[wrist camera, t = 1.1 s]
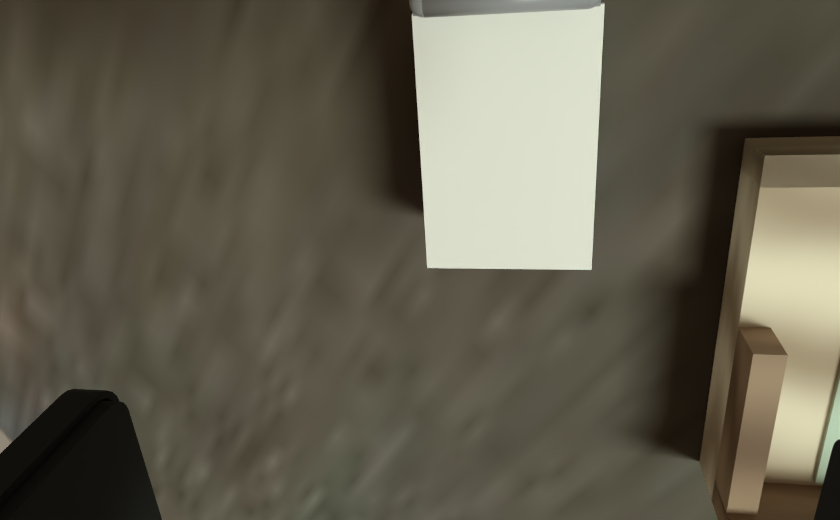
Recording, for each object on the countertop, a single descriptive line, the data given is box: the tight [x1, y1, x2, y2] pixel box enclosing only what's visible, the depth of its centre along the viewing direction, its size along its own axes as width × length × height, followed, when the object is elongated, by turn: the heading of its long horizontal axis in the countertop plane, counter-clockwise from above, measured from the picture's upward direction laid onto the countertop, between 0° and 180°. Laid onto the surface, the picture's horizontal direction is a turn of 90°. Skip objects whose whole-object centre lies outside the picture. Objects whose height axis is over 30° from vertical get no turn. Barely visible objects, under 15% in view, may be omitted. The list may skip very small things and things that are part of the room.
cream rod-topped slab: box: [409, 0, 604, 270], centre depth 24 cm, size 10×6×6 cm, turn 4°
